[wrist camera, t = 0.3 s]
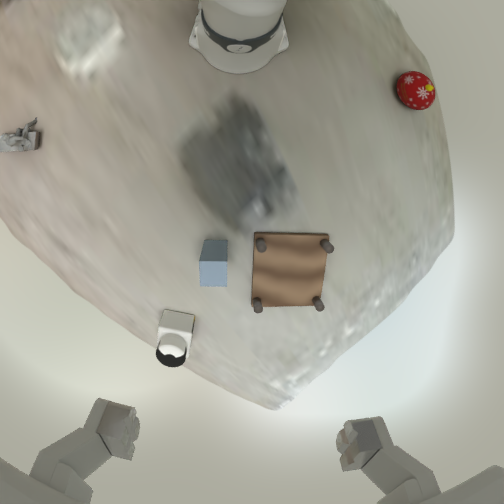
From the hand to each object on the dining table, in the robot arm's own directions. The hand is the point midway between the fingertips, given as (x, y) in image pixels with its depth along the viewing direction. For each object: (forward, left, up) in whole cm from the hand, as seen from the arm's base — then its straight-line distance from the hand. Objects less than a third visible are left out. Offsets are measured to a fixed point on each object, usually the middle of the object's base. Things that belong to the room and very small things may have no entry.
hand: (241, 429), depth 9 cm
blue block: (+10, -3, -47) cm, 48 cm away
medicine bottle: (+28, -12, -47) cm, 56 cm away
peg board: (+14, +12, -47) cm, 51 cm away
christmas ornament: (-27, +36, -47) cm, 65 cm away
